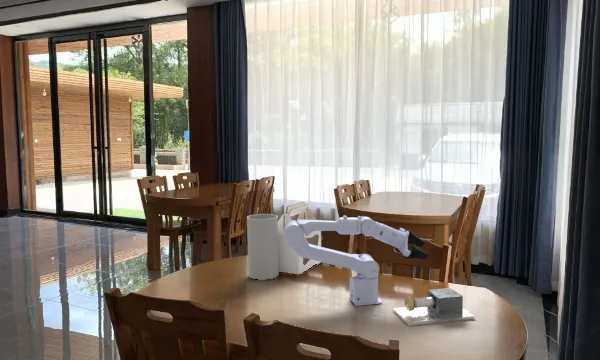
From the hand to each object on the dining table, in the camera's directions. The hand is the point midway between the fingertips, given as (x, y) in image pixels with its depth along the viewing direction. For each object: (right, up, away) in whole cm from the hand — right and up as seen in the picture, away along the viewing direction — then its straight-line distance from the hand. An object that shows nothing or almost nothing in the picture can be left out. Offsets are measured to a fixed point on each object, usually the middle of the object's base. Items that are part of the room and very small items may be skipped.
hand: (425, 250), depth 163 cm
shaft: (-2, -16, -14) cm, 22 cm away
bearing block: (-1, -19, -14) cm, 23 cm away
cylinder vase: (-59, -15, +30) cm, 68 cm away
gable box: (-45, -14, +43) cm, 64 cm away
